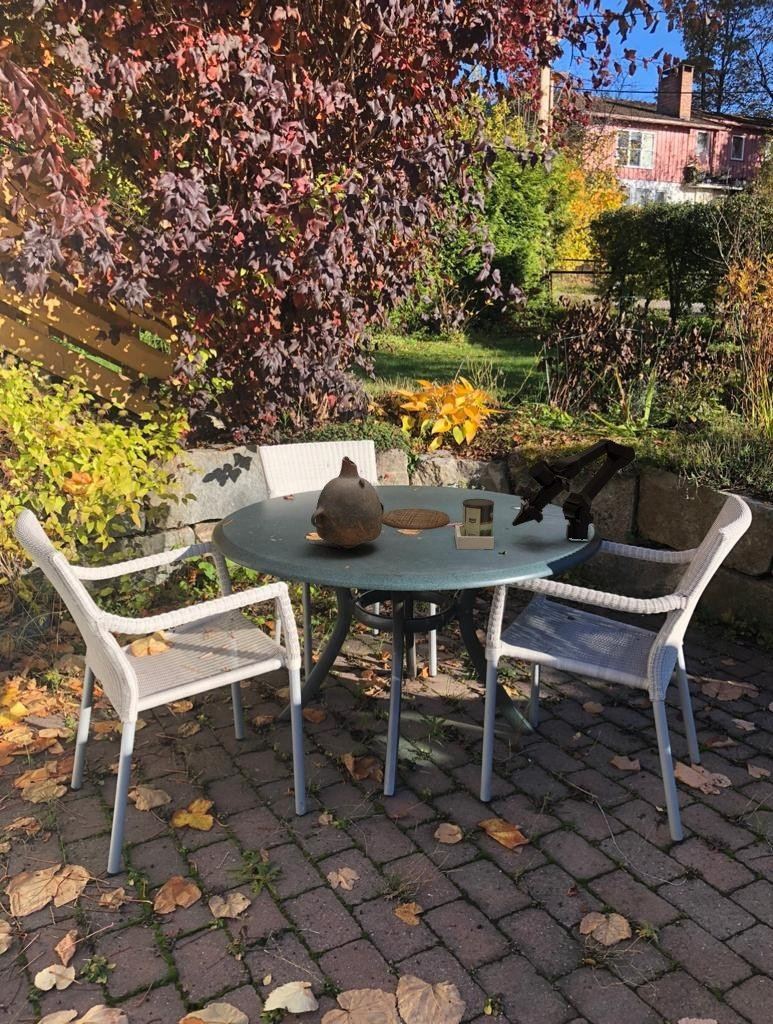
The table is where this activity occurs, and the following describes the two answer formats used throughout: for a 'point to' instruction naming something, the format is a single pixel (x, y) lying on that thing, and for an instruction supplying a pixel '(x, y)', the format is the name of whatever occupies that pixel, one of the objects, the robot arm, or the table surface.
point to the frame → (472, 540)
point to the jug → (348, 509)
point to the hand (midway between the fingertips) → (512, 525)
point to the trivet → (415, 519)
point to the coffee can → (478, 517)
